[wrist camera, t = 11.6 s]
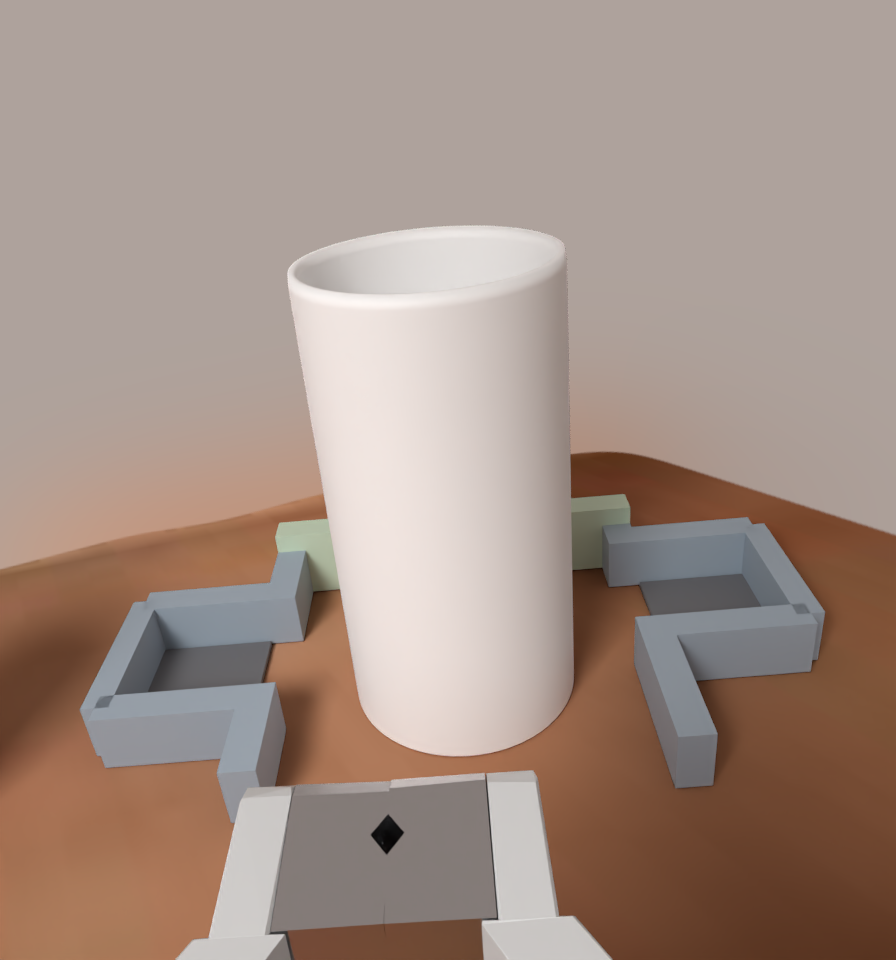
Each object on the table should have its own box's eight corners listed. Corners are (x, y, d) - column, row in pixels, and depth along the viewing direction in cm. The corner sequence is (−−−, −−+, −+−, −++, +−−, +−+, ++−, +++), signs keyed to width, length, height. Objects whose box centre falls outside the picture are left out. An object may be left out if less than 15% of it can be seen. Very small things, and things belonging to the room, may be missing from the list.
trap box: (61, 835, 27) (32, 768, 26) (173, 588, 39) (157, 533, 38) (887, 771, 27) (903, 699, 25) (743, 540, 39) (749, 483, 37)
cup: (367, 616, 36) (308, 236, 29) (560, 604, 36) (551, 216, 28) (347, 764, 29) (259, 307, 21) (588, 749, 29) (585, 280, 21)
